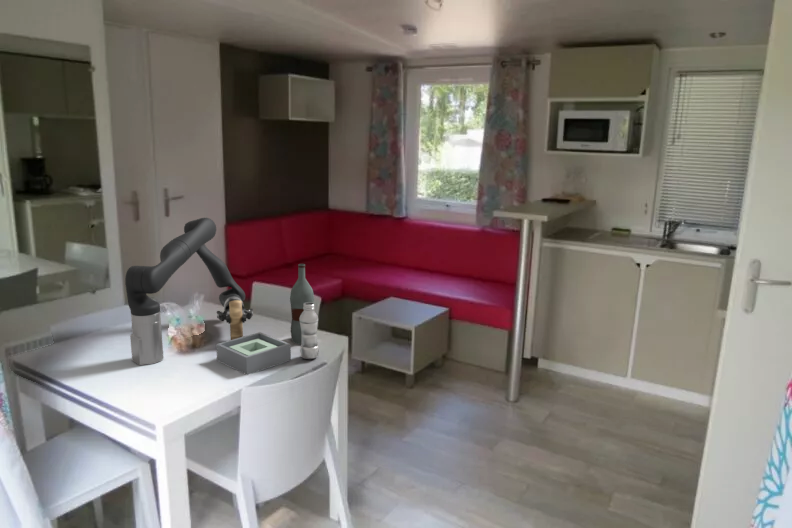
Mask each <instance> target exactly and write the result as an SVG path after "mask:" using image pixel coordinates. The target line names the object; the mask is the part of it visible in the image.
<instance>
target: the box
mask: <svg viewBox="0 0 792 528" xmlns="http://www.w3.org/2000/svg"><path fill="white" fill-rule="evenodd" d="M255 339H260V340H263V341H265V342H268V343H270V344H273V345H275V346H278V347H275V348H272V349H269V350H266V351H262V352H259V353H256V354H253V355H249V356H246V355H244V354H241V353H239V352H237V351H235V350H233V349H230V348H229V347H230V346H234V345H237V344H241V343H244V342H248V341H251V340H255ZM215 345H216V361H218V362H219V363H222V364H224V365H226V366H228V367H230V368H232V369H234V370H237V371H238V372H240V373H242V374H244V373H245V375H246V374H247V375H246V376H249V375H250V374H253V373H257V372H260V371H263V370H266V369H268V368H271V367H274V366H278V365H281V364H283V363H286V362H289V361H291V360H292V358H291V357H292V355H291V353H292V349H291V347H292V346H291V343H290V342H286V341H284V340H281V339H279V338H277V337H273V336H271V335H268V334H266V333H264V332H261V331H259V332H256V333H255V332H254V333H251V334H248V335H245V336H244V335H243V337H240V338H237V339H233V340H231V339H230V340H226V341H223V342H219V343H216V344H215Z"/></svg>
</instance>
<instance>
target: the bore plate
mask: <svg viewBox="0 0 792 528" xmlns="http://www.w3.org/2000/svg"><path fill="white" fill-rule="evenodd" d="M275 347H278V346H275V345H273V344H270V343H268V342H265V341H263V340H260V339H255V340H251V341H248V342H244V343H241V344H237V345H234V346H230V347H229V348H230V349H233V350H235V351H237V352H239V353H241V354H244V355H246V356H249V355H253V354H256V353H259V352H262V351H266V350H269V349H272V348H275Z"/></svg>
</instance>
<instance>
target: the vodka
mask: <svg viewBox="0 0 792 528" xmlns="http://www.w3.org/2000/svg"><path fill="white" fill-rule="evenodd" d="M297 267H298V270H297V271H298V273H297V274H298V275H297V276H298V278H297V280H296V281H295V283H294V284H293V286H292V288H291V290H290V294H289V295H290V297H289V302H290V311H291V312H290V313H291V322H290V336H291V337H290V338H291V341H292V342H293V343H294V344H300V345H301V338H302V335H301V334H302V333H301V326H300V319H299V318H300V315H301V314H302V312H303V311H304V309H303V307H304V303H309V302H310V303H314V304H315V296H314V295H315V294H314V289H313V288H312V286H311V285H310V283H309V281H308V280H307V278H306V264H305V263H299V264H298V265H297Z"/></svg>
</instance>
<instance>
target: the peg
mask: <svg viewBox="0 0 792 528" xmlns="http://www.w3.org/2000/svg"><path fill="white" fill-rule="evenodd" d="M242 302H243V301H239V300H234V301H230V302H229V310H230V324H229V332H230V340H233V339H237V338H240V337H244V333H243V332H244V328H243V327H244V325H243V324H244V323H243V322H242Z"/></svg>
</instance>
